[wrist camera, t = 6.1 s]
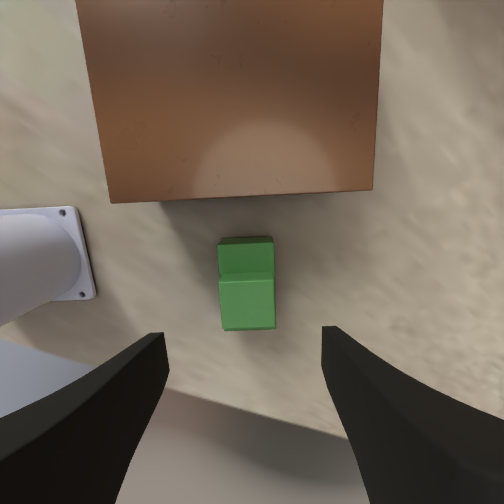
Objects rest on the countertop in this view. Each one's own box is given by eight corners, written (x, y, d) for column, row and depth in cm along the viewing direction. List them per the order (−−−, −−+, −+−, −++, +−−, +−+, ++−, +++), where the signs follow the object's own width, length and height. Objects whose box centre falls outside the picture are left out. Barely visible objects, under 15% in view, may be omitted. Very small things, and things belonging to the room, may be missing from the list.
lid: (366, 190, 14) (373, 190, 13) (118, 203, 14) (110, 203, 13) (381, -106, 11) (391, -129, 10) (70, -81, 11) (56, -101, 11)
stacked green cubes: (273, 309, 21) (279, 344, 16) (228, 310, 21) (220, 346, 17) (271, 234, 20) (276, 248, 15) (222, 236, 20) (211, 251, 15)
